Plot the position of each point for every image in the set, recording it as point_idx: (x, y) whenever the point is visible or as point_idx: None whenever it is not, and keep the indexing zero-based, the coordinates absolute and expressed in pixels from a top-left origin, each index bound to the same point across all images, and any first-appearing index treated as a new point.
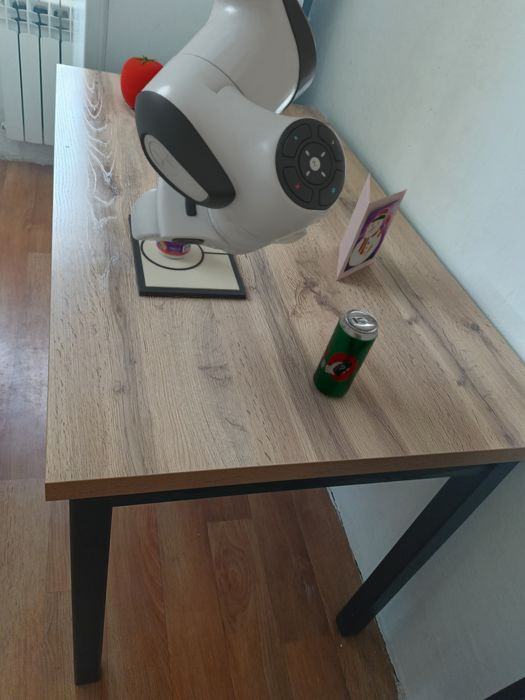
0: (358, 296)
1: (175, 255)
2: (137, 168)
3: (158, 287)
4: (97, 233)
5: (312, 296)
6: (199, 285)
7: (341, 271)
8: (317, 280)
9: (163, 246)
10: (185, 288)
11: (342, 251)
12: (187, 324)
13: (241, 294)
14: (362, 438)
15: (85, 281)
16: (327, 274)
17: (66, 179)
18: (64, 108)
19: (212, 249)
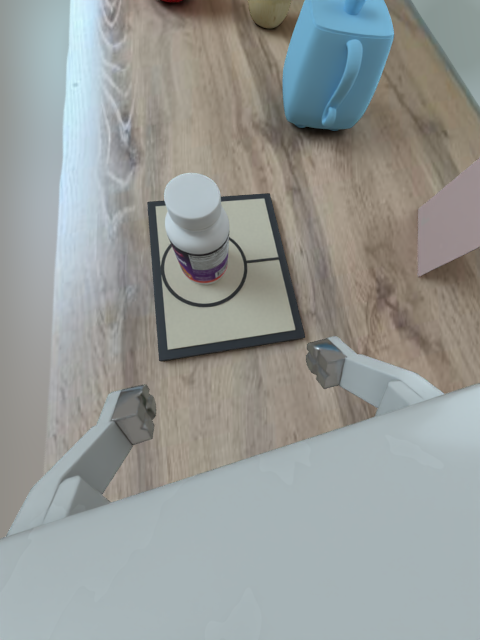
0: (446, 302)
1: (206, 282)
2: (163, 108)
3: (185, 346)
4: (108, 244)
5: (388, 314)
6: (241, 332)
7: (433, 268)
8: (393, 280)
9: (187, 274)
10: (222, 341)
11: (434, 228)
12: (226, 408)
13: (298, 337)
14: None
15: (89, 346)
16: (405, 266)
17: (71, 146)
18: (73, 14)
19: (258, 252)
